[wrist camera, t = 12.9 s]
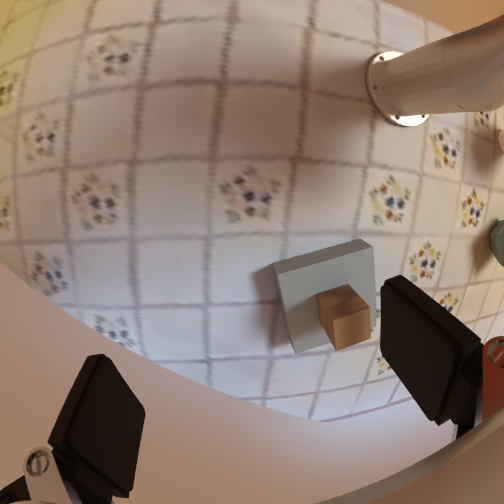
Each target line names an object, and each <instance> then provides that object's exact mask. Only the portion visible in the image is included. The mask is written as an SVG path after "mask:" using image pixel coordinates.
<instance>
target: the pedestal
mask: <svg viewBox="0 0 504 504" xmlns="http://www.w3.org/2000/svg"><path fill="white" fill-rule="evenodd" d="M272 265H273V269H274V274H275V278H276V282H277V286H278V291H279V295H280V299H281V304H282V308H283V313H284V317H285V321H286V326H287V330H288V335H289V339H290V342H291V344H292V347H293V350H294V352H295V354H296V353H299V352H302V351H305V350H309V349H312V348H315V347H318V346H321V345H324V344H327V343H330V342H331V341H330V339H329V338H328V336H327V334H326V332H325V331H324V329H323V327H322V325H321V324H320V321H319V314H318V307H317V301H316V295H315V294H317V293H320V292H323V291H327V290H330V289H333V288H336V287H339V286H342V285H345V284H349V285H350V286H351V287H352V288H353V289H354V291H355V292H356V293H357V294H358V295H359V296H360V297H361V298H362V299H363V300H364V301H365V302H366V304H367V305H368V306H369V307H370V318H371V328H372V327H375V326H376V291H375V270H374V255H373V246H371V245H370V244H368V243H366V242H365V241H363V240H362V239H357V240H353V241H350V242H346V243H343V244H340V245H336V246H333V247H329V248H325V249H322V250H318V251H315V252H311V253H308V254H304V255H301V256H297V257H293V258H290V259H286V260H283V261H279V262H275V263H272Z"/></svg>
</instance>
